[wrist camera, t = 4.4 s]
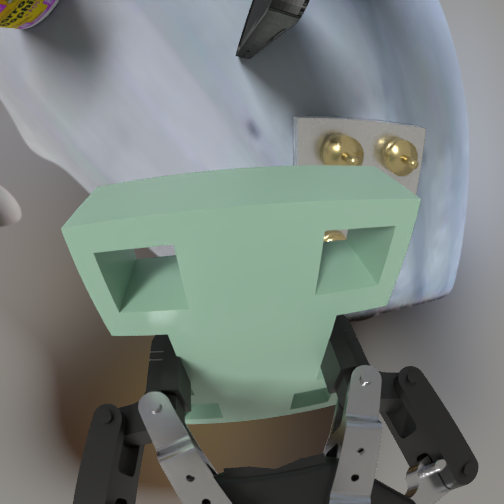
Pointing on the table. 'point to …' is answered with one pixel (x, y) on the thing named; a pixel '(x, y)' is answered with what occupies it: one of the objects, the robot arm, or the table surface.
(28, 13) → the supplement bottle
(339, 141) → the chassis
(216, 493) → the robot arm
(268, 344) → the board
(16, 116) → the table surface
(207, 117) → the table surface
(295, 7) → the phone
